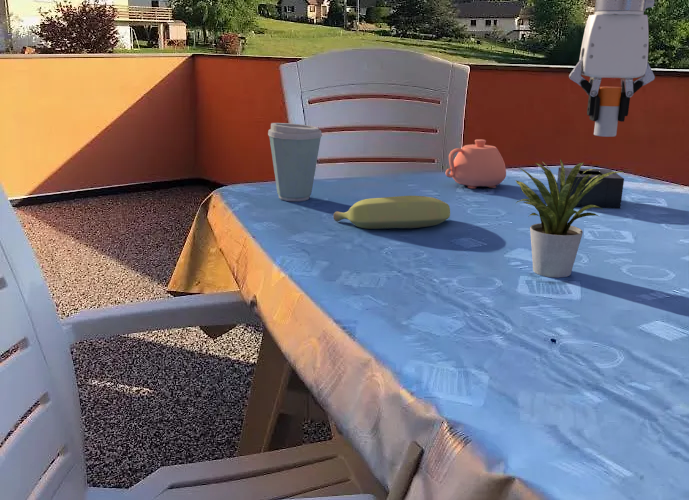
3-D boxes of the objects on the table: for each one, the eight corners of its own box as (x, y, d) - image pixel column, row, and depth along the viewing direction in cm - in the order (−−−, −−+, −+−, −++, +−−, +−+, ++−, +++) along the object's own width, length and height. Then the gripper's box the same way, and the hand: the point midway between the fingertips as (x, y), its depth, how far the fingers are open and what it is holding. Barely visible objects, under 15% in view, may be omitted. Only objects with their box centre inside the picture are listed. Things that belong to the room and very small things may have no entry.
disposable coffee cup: (302, 190, 150) (302, 119, 146) (332, 200, 142) (333, 124, 138) (258, 196, 144) (257, 122, 140) (288, 206, 136) (287, 128, 131)
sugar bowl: (515, 189, 156) (519, 142, 153) (456, 192, 152) (459, 144, 149) (489, 179, 167) (493, 135, 164) (434, 181, 163) (436, 136, 160)
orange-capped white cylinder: (612, 134, 122) (618, 86, 120) (618, 136, 119) (624, 88, 116) (591, 133, 122) (596, 86, 120) (596, 136, 119) (601, 87, 117)
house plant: (597, 258, 107) (610, 150, 102) (626, 288, 93) (643, 166, 89) (501, 254, 107) (510, 147, 103) (517, 284, 94) (528, 163, 90)
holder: (607, 197, 149) (610, 169, 148) (620, 208, 139) (624, 178, 138) (555, 195, 150) (558, 167, 149) (565, 206, 140) (568, 176, 139)
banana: (443, 191, 116) (325, 199, 120) (445, 225, 116) (326, 231, 120) (450, 196, 129) (343, 203, 133) (451, 227, 129) (344, 232, 133)
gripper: (664, 7, 117) (650, 119, 123) (562, 6, 119) (552, 117, 124) (681, 5, 110) (664, 124, 115) (571, 4, 112) (560, 122, 117)
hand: (606, 119), depth 120 cm, fingers closed on orange-capped white cylinder, 3 cm apart
